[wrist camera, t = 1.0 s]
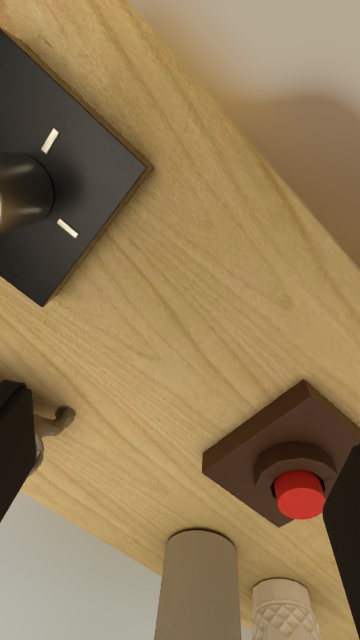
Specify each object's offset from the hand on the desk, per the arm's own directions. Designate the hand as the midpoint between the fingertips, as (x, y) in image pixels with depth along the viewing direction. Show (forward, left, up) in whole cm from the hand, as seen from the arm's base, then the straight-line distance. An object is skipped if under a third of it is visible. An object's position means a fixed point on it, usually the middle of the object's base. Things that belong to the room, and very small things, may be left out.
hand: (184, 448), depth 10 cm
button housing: (+7, +17, -16) cm, 24 cm away
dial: (+3, -12, -13) cm, 18 cm away
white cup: (+23, +34, -16) cm, 44 cm away
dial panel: (+3, -12, -16) cm, 20 cm away
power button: (+7, +17, -12) cm, 22 cm away
